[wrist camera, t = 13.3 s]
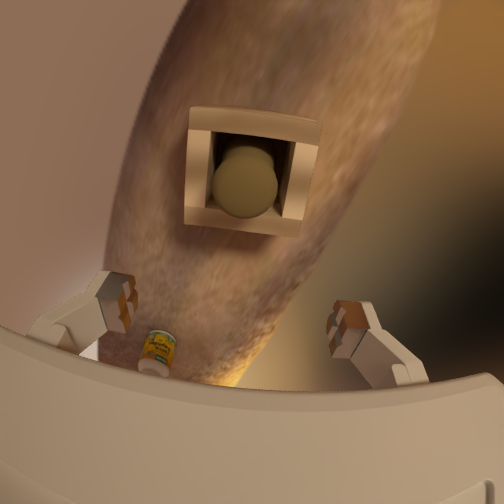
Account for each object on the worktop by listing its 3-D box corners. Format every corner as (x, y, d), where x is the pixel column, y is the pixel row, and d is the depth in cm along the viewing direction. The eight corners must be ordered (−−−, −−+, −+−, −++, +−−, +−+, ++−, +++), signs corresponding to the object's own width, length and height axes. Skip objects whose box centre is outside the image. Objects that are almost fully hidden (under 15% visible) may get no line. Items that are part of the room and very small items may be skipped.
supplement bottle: (146, 342, 47) (132, 385, 39) (149, 324, 45) (133, 370, 37) (174, 351, 48) (163, 395, 40) (179, 334, 46) (167, 381, 37)
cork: (225, 187, 32) (211, 234, 22) (216, 136, 28) (195, 161, 19) (279, 181, 31) (288, 226, 22) (273, 129, 28) (280, 149, 19)
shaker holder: (203, 103, 26) (190, 107, 21) (310, 118, 27) (322, 124, 22) (195, 200, 33) (184, 224, 28) (292, 212, 33) (298, 238, 28)
